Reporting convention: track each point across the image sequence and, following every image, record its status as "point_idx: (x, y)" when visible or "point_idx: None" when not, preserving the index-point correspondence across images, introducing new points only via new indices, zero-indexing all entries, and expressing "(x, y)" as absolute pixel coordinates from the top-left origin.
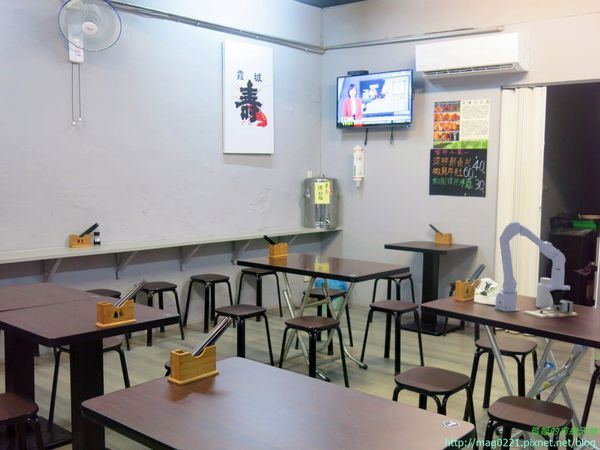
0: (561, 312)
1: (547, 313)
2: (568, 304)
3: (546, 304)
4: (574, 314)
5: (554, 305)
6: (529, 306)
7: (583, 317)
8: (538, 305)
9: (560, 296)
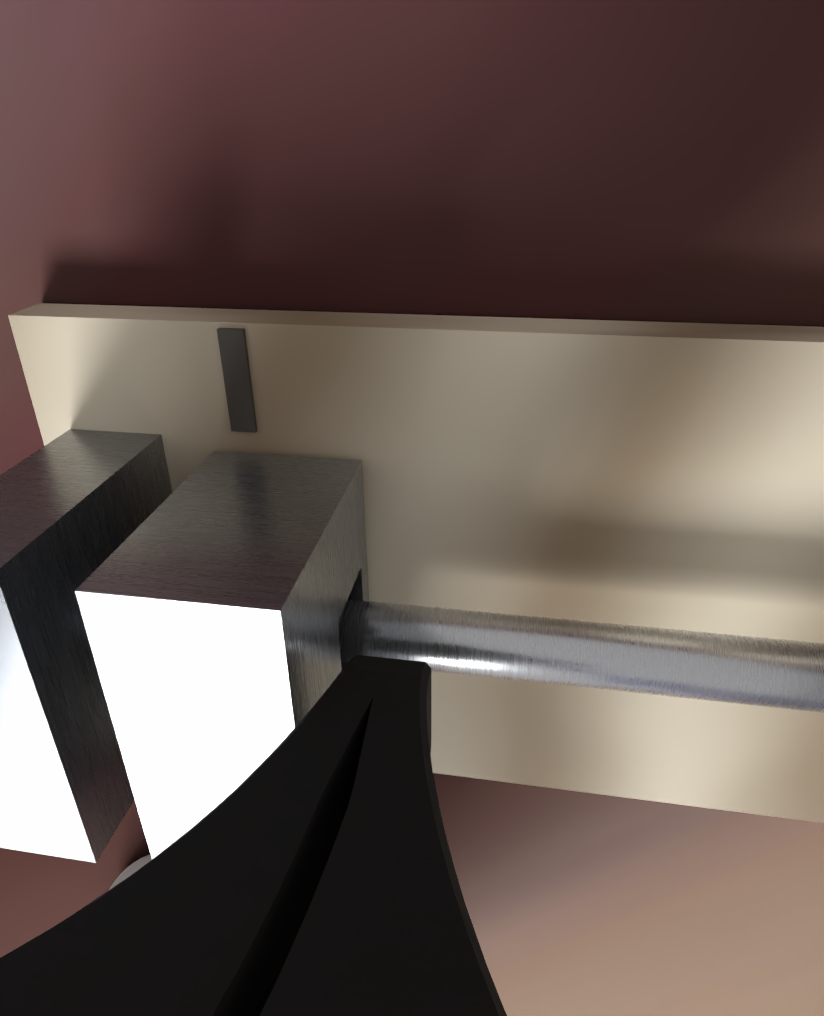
0: None
1: (797, 544)
2: (55, 574)
3: None
4: (104, 312)
5: None
6: None
7: (12, 35)
8: None
9: (262, 870)
